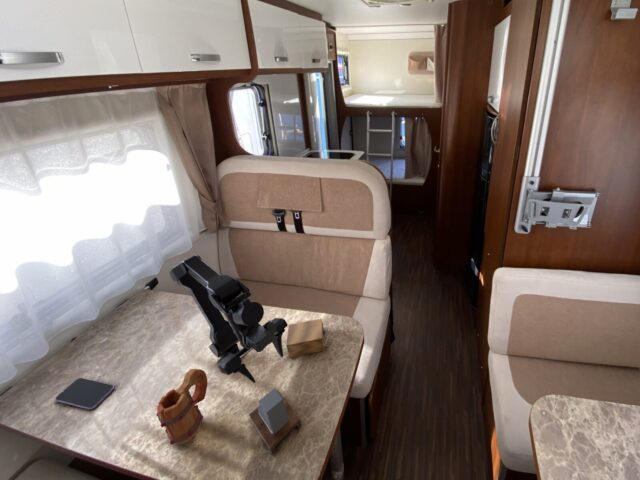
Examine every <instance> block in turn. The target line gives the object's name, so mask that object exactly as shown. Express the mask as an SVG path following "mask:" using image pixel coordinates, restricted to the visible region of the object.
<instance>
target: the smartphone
mask: <svg viewBox="0 0 640 480" xmlns="http://www.w3.org/2000/svg"><path fill="white" fill-rule="evenodd" d="M114 390H115V385H114V384H110V383H106V382H101V381H97V380H93V379H88V378H84V377H78V378H76V379H75V380H74V381H72V383H70V384H69V385H68V386H67V387H66V388H64V389H63V390H62V391H61V392H60V393H58V395H56V397H55V399H54V400H55V402H58V403H61V404H62V403H63V404H66V405H70V406H74V407H79V408H82V409H85V410H89V411H90V410H94V409H96V408H97V406H99V404H101V403H102V402H103V401H104V400H105V399H106V398H107V397H108V396H109V395H110V394H111V393H112V392H113V391H114Z"/></svg>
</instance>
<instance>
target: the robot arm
mask: <svg viewBox="0 0 640 480" xmlns="http://www.w3.org/2000/svg"><path fill="white" fill-rule="evenodd" d="M169 277H170V279H171V280H172V281H173V282H174V283H176V284H177V285H178V286H179V287H181V288H183V289H186V290H188V292H189V294H190V296H191V298H192V299H193V301H194V302H195V304H196V307H197V308H198V309H199V311H200V312H201V314H202V316H203V318H204V320H205V321H206V323H207V324H208V326H209V328H210V329H209V339H210V342H211V344H209V345H208V348H209V350H210V352H211V353H212V354H213V355H214V356H215V357H216V358H217V359H218V360H217V361H216V363H217V367H218V369H219V371H220V373H222V374H224V375H227V376H230V375H232V374H237V373H239V374H241V375H242V376H243V377H245V378H246V379H248V380H249V381H250V382H252V384H255V383H256V379H255V377H254V375H253V374H252V373H251V371H249V369H248V368H247V366H246V363H243V361H242V359H243V358H244V357H245V356H247V355H248V354H249V353H250V352H252V350H254V351H255V352H256V353H261V352H262V351H264V349H265V348H266V347H268V345H270V344H272V345H273V347H274V349H275V351H276V352H277V354H278V356H279V357H280V358H283V357H284V351H283V342H282V340H283V335H284V333H285V332H286V328H287V327H289V324H288V322H287V320H286V319H284V318H283V317H281V318H280V317H274V318H273V319H270V320H268V321H267V322H265V323H264V324H263V325H261V323H260V322H262V320H263V318H264V316H265V310H264V309H265V308H264V306H263V305H262V304H261V303H260V302H257V301H251V299H250V297H251V296H252V293H251V292H250V289H249V287H247V286H246V285H245V284H244V283H243V282H242V281H240V280H239V279H237V278H235V277H233V276H231V275H229V274H220V273H219V272H217V270H215V269H213V268H212V267H211V266H210V265H208V263H206V262H204V261H203V259H202V257H201V256H200V255H199V254H194V255H191V256H190V257H187V258H185V259H183V260H181V262H179V263H178V264H176V265H174V266H172V267H171V270H169ZM223 315H224V316H225V317H224V316H223ZM238 343H239V345H240V346H241V347H242V348H241V349H240V347H239V345H238Z"/></svg>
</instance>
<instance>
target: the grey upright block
mask: <svg viewBox="0 0 640 480" xmlns="http://www.w3.org/2000/svg"><path fill="white" fill-rule="evenodd" d="M277 391H278V389H276V388H275V387H273V388H272V389H271V390H270V391H268V392H267V393H266V394H265V395H264V396H263V397H261V398H260V399H259V400H258V404H259V405H258V406H257V407H258V408H257V407H256V408H257V409H258V411H259V415H260V416H261V418H262V419H263V421H264V422H265V424H266V425H267V427H268V428H269V430H270V431H271V433H272V434H274V435H275V434H276V433H277V432H278V431H279V430H280V429H281V428H282V427H283V426H284V425H285V424H286V423H287V422H289V418H288V414H287V411H286V407H285V404H284V401H283V398H284V397H283V398H282V397H281V395H282V394H281V393H280V394H281V395H280V394H279V393H278V392H277Z"/></svg>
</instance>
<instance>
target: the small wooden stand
mask: <svg viewBox="0 0 640 480" xmlns="http://www.w3.org/2000/svg"><path fill="white" fill-rule="evenodd" d="M277 392H278V393H279V394H280V395H281V397H282V398H283V401H284V404H285V407H286V411H287V414H288V418H289V422H287V423H286V424H285V425H284V426H283V427H282V428H281V429H280V430H279V431H278V432H277V433H276V434H275V435H274V434H272V433H271V431H270V430H269V428H268V427H267V425H266V424H265V422H264V421H263V419H262V418H261V416H260V415H259V411H258V409H257V408H258V407H259V406H257V407H256V408H255V409H254V410H252V411H251V412H250V413H249V414H248V416H249V419H250V421H251V423H252V425H253V426H254V428H255V429H256V431H257V433H258V434H259V436H260V438H261V439H262V441H263V442H264V444H265V446H266V447H267V448H268V450H269V452H270V454H271V455H273V454H274V453H275V452H276V451H277V449H276V446H277V445H278V444H279V443H280V442H281V441H282V440H283V439H284V438H285V437H286V436H287V435H288V434H289V433H291V432H292V431H293V430H294V429H295V428H297V429H300V428H301V427H302V421H301V418H300V417H299V416H298V414H297V413H296V412H295V410H294V409H293V408H292V407H291V405H290V404H289V403H288V401H287V399H285V398H284V396H283V395H282V393H281V392H280V391H279V390H277Z"/></svg>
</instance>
